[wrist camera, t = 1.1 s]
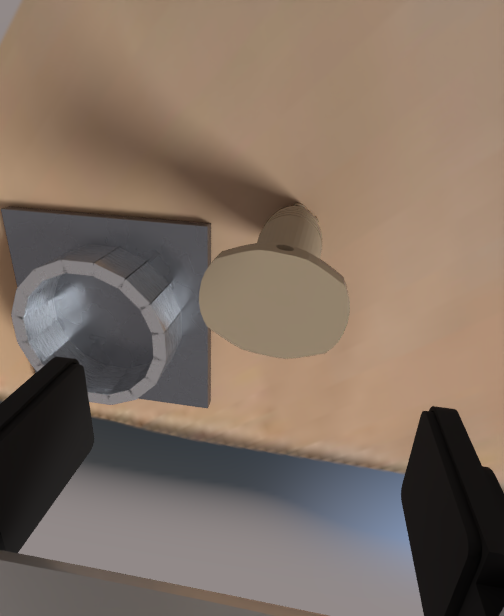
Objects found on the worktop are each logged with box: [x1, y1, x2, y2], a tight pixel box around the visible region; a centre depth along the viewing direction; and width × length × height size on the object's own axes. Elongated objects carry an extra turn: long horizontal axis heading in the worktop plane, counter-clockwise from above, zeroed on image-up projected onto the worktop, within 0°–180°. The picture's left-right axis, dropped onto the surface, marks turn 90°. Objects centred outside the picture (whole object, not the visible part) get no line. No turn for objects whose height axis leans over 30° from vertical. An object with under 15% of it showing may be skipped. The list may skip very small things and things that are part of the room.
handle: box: [199, 203, 350, 359], centre depth 24 cm, size 5×6×15 cm
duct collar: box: [1, 206, 211, 408], centre depth 35 cm, size 17×17×5 cm
